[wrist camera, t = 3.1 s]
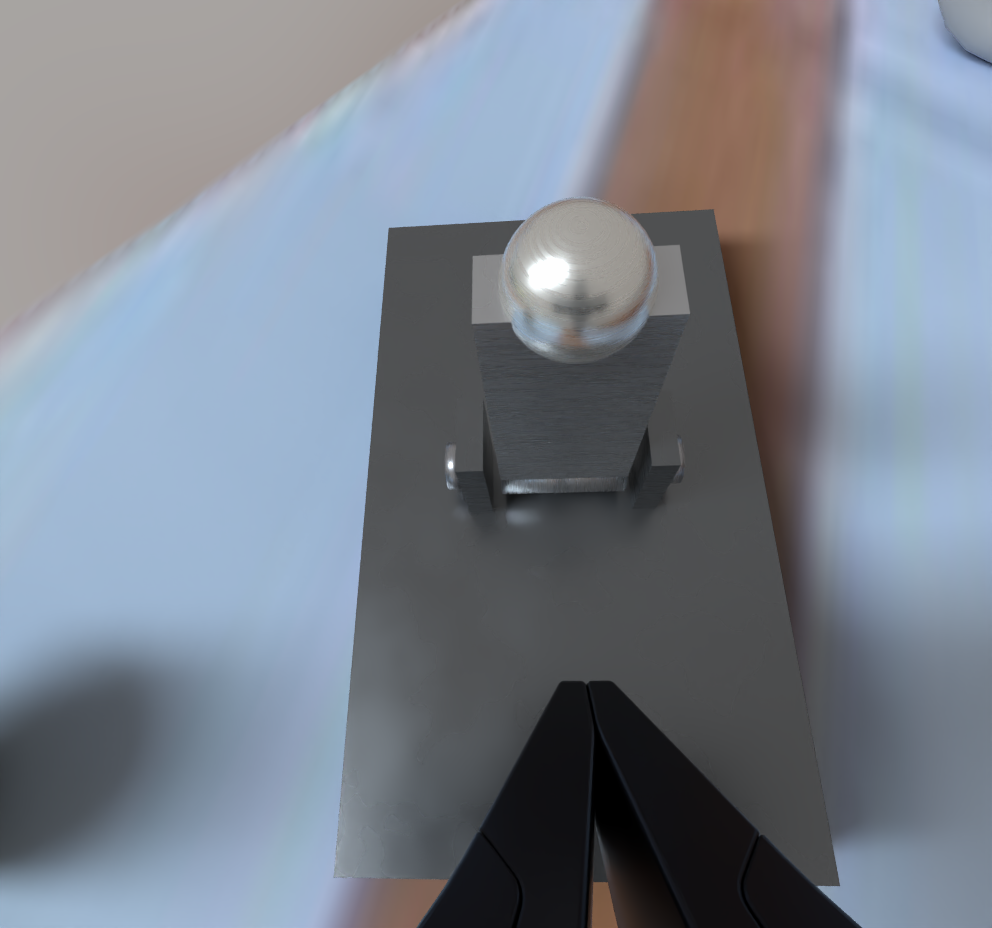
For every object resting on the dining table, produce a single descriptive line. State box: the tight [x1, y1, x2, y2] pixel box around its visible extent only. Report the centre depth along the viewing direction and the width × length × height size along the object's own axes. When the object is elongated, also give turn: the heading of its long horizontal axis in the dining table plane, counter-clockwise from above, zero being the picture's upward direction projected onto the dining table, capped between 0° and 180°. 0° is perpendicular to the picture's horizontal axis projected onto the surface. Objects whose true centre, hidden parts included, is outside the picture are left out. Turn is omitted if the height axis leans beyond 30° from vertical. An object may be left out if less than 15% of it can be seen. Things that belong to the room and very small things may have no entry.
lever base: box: [334, 209, 840, 886], centre depth 20 cm, size 24×14×7 cm, turn 0°
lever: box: [472, 197, 690, 494], centre depth 15 cm, size 3×4×12 cm
